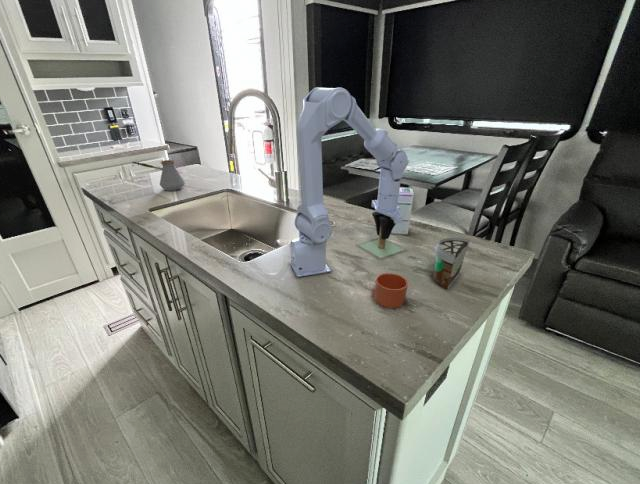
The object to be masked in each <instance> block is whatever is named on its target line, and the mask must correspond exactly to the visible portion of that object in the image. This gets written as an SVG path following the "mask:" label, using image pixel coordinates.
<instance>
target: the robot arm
mask: <svg viewBox="0 0 640 484" xmlns="http://www.w3.org/2000/svg"><path fill="white" fill-rule="evenodd" d="M302 102H303V109H302V111H301V113H300V116H299V120H298V122H297V126H296V141H297V142H296V143H297V155H298V157H297V158H298V171H299V173H298V174H299V186H300V200H301V203H300V204H299V205H298V206H297V207H296V215H295V218H294V226H295V228H296V230H297V231H298V237H297V238H295V239H293V240H290V242H289V243H290V245H289V249H290V262H289V264H290V266H291V268H292V270H293V272H294V274H295V276H296V277H297V278H300V277H306V276H314V275H319V274H326V273H330V272H331V268H330V267H329V266H328V264H327V263H326V262H327V260H326V259H327V257H326V256H327V242H328V240H329V238H330V237H331V235H332V232H333V227H332V224H331V222H330V218H329V217H330V216H329V213H328V211H327V208H326V207H325V205H324V183H323V179H324V178H323V150H322V149H323V147H322V146H323V145H322V144H323V143H322V138H323V136H324V135H325V134H326V133H327V132H328V131H329V130H330V129H331V128H333V127H335V126H336V125H338V124H339V123H341V122H342V121H344V122H345V123H346V124H347V125H348V126H349V127H351V128H352V129H353V130H354V131H355V132H356V133H357V135H359V136H360V137H361V138H362V139H363V140H364V141H363V146H364V149H366V151H368V153H370V155H372V157H373V158H375V160H376V165H377V167H379V168H380V171H379V180H378V191H377V199H374V200H373V199H372V200H371V208H374V211H372V213H371V215H372V218H373V220H374V224H375V230H376V236H378V237H379V233H380V224H381V239H386V240H388V239H390V236H391V234H392V233H391V231H392V229H393V228H394V226H395V225H396V224H397V223H402V218H403V216H402V215H401V214H400V213H399V211H398V210H400V207H398V206H397V203H398V196H399V189H400V187H401V182H402V178H403V177H404V172H405V170H406V169H407V167H408V165H409V162H410V160H409V159H408V155H407V153H406V152H405V150H403V149H399V148H398V144H397V143H396V142H394V141H393V140H392V139H391V138H390V136H389V135H388V134H389V132H388V131H387V129H383V128H375V127H374V126H373V124H372V123H371V121H370V120H369V119H368V118H367V116H366V114H365V113H364V112H363V111H362V110H361V108H360V107H359V106H358V103H357V101H356V98H355V97H354V96H353V95H351V93H350V92H349V90H347V89H345V88H343V87H335V88H334V87H322V86H318V87H314V88H312V90H310V92H308V94H307V95H306V96H305V97H304V98H303V101H302Z"/></svg>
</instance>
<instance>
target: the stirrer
mask: <svg viewBox="0 0 640 484" xmlns="http://www.w3.org/2000/svg"><path fill="white" fill-rule="evenodd" d="M378 239H379V241H378V248H379V249H384V248H385V244H386V240H387V239H381V224H380V233H379V236H378Z"/></svg>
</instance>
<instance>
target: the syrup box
mask: <svg viewBox="0 0 640 484" xmlns="http://www.w3.org/2000/svg"><path fill="white" fill-rule="evenodd" d="M414 196H415V193H414V190H413V188H412V187H403V186H400V189H399V196H398V203H397V206H398V207H400V210H398V211H399V213H400V214H401V215H402V216H403V218H402V223H397V224H396V225H395V226H394V228H393V229H392V231H391V234H395V235H396V234H399V235H408V234H409V231H410V230H409V229H410V223H411V216H412V210H413V204H414V203H413V202H414Z"/></svg>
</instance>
